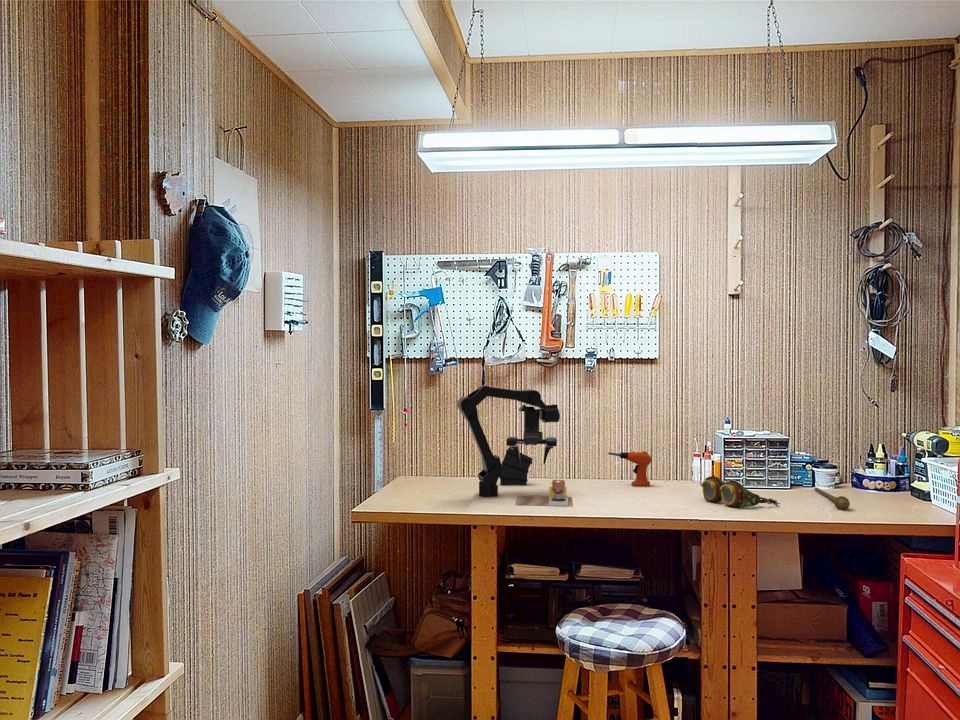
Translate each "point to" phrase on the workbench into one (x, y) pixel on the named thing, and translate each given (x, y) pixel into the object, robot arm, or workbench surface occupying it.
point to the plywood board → (537, 501)
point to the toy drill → (638, 466)
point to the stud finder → (553, 491)
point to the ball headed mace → (836, 499)
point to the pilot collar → (558, 502)
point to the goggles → (731, 493)
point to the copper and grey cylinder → (558, 489)
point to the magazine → (515, 468)
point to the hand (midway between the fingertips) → (531, 464)
